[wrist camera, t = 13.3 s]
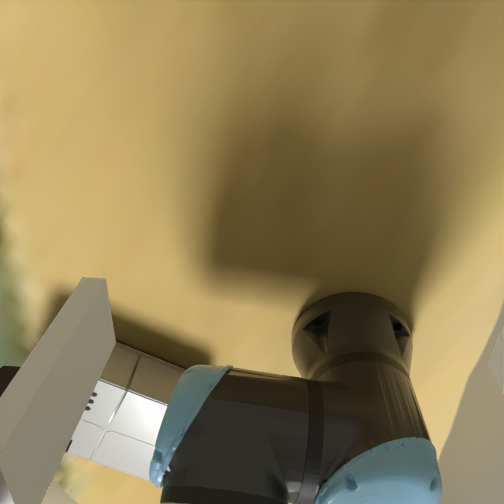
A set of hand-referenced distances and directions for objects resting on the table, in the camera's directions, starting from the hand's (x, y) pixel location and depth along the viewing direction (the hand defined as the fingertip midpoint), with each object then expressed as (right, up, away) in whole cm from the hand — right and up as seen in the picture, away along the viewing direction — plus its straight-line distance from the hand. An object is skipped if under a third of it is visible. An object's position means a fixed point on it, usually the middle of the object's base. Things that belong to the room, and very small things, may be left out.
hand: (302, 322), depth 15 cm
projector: (-20, -17, +52) cm, 58 cm away
